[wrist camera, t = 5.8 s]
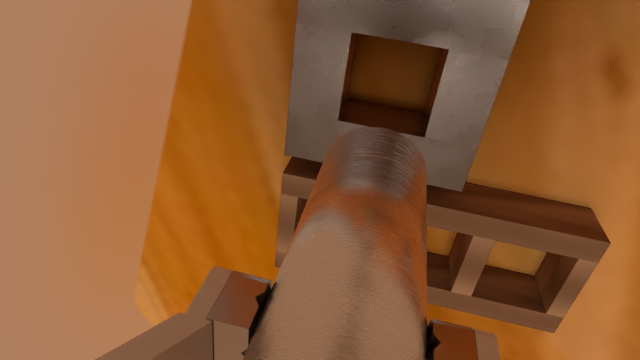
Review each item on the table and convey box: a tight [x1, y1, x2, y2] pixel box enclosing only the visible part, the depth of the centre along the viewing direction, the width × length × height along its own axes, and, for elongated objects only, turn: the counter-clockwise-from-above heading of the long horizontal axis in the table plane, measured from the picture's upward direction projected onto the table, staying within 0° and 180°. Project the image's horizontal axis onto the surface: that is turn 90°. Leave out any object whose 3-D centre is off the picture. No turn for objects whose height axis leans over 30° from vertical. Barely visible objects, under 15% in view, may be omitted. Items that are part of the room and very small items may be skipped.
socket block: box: [285, 0, 530, 192], centre depth 28 cm, size 12×12×4 cm
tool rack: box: [275, 156, 611, 333], centre depth 33 cm, size 9×22×4 cm, turn 83°
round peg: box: [243, 127, 427, 360], centre depth 12 cm, size 4×4×11 cm
